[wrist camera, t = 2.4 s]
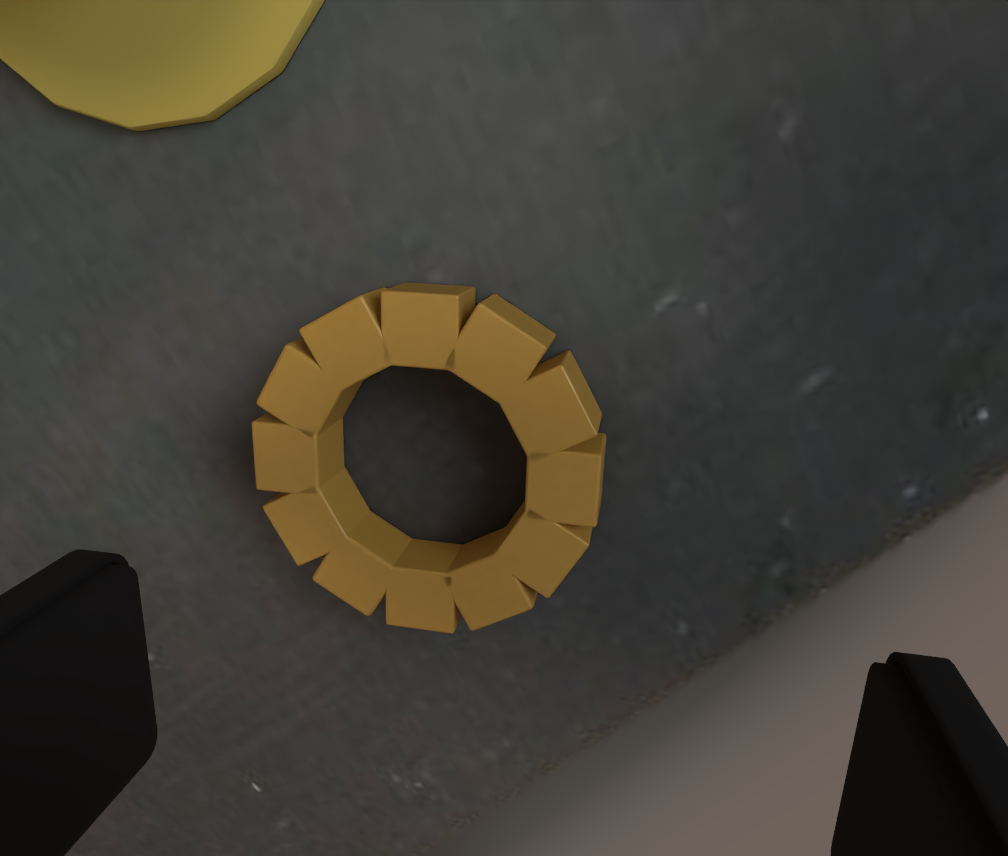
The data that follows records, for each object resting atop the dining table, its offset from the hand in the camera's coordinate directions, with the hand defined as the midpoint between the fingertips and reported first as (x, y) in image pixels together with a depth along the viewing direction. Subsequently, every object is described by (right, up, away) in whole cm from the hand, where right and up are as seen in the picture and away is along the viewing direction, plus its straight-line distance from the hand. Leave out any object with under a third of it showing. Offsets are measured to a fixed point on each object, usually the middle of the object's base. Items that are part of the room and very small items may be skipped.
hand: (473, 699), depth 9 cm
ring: (-1, +3, +9) cm, 9 cm away
